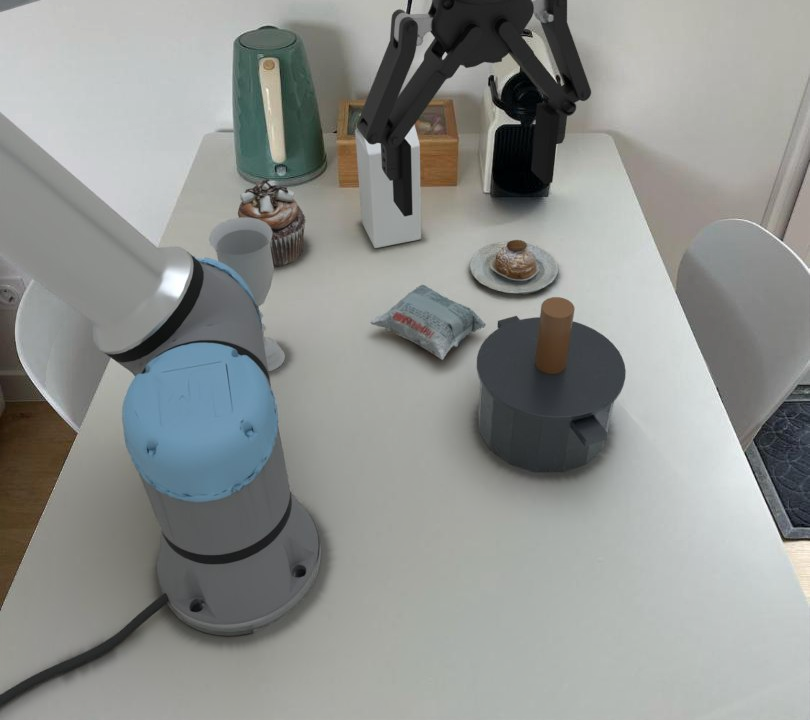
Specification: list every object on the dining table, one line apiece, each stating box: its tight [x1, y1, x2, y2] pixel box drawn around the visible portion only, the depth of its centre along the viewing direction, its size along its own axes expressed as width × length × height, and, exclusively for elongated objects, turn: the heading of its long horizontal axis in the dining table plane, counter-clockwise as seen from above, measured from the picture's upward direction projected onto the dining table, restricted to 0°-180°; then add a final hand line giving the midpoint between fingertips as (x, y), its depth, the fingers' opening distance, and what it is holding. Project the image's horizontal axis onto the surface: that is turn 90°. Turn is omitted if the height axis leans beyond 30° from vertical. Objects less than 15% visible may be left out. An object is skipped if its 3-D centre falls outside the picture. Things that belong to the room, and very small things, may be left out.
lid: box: [476, 296, 627, 421], centre depth 82 cm, size 15×15×9 cm
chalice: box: [208, 217, 286, 372], centre depth 94 cm, size 7×7×18 cm
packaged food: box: [369, 284, 487, 361], centre depth 100 cm, size 9×12×5 cm
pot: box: [477, 315, 615, 473], centre depth 87 cm, size 14×19×9 cm
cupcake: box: [237, 178, 307, 267], centre depth 113 cm, size 10×10×10 cm
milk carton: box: [354, 113, 422, 249], centre depth 113 cm, size 7×7×19 cm
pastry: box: [469, 239, 559, 295], centre depth 110 cm, size 12×12×5 cm
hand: (473, 192), depth 73 cm, fingers open, 13 cm apart
